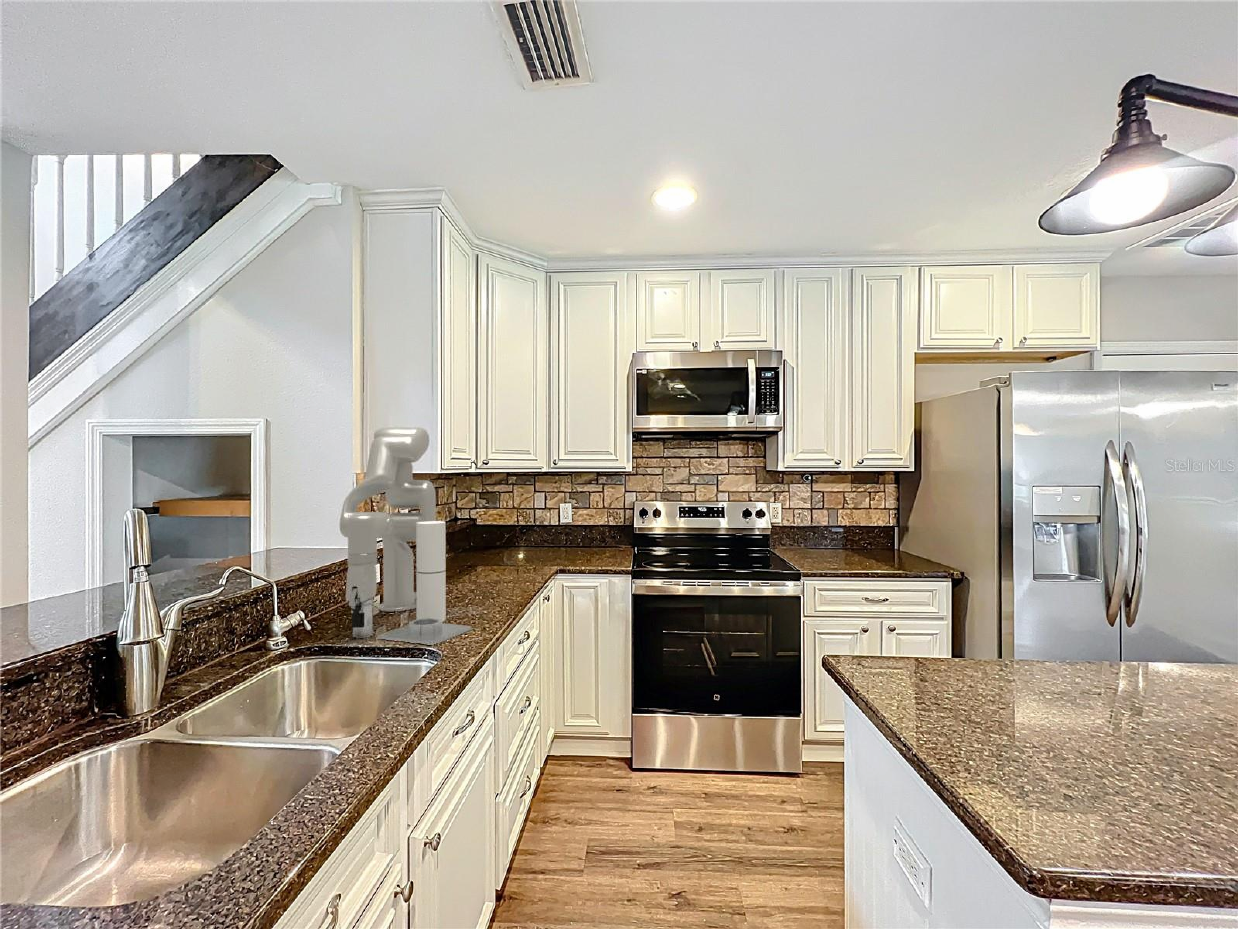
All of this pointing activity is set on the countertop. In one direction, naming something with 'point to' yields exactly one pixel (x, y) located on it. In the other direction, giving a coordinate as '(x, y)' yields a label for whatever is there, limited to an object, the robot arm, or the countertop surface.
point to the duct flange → (425, 631)
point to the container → (431, 569)
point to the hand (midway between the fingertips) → (362, 624)
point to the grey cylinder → (365, 621)
